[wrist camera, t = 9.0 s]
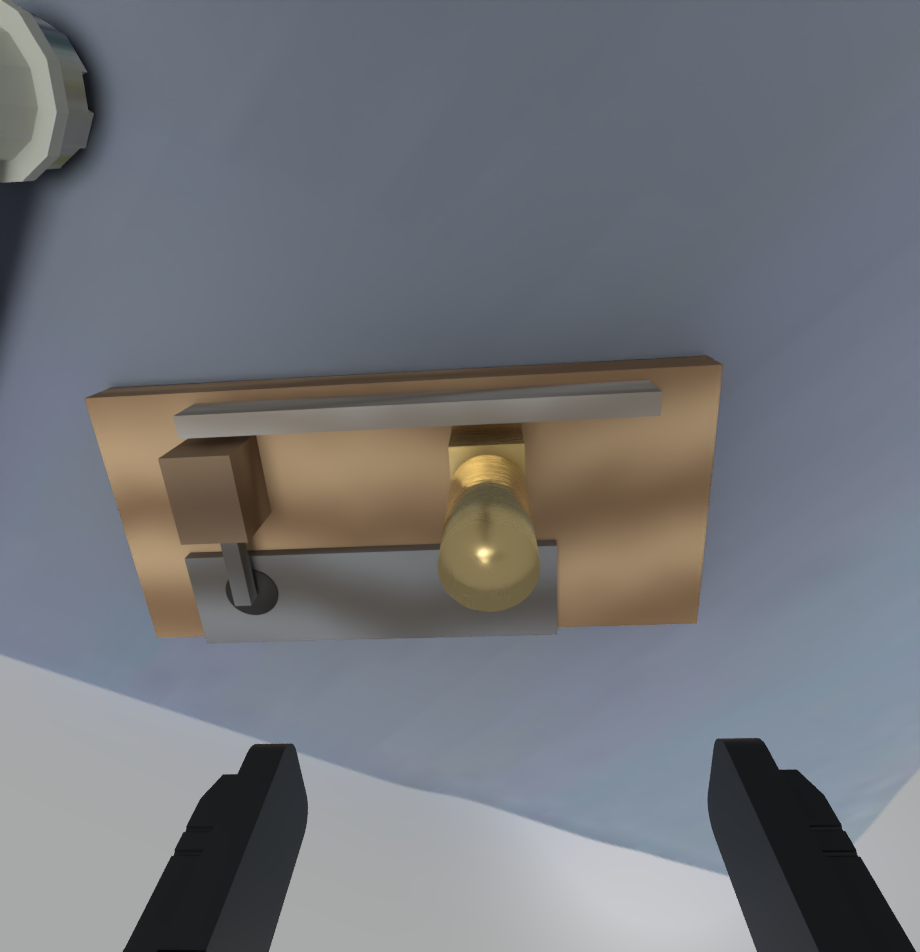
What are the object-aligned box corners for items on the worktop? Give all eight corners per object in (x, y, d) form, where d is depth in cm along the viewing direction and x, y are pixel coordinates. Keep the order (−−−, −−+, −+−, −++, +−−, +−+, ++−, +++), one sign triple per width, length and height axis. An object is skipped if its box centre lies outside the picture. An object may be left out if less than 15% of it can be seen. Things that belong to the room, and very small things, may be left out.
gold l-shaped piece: (450, 425, 26) (432, 512, 18) (522, 421, 26) (539, 508, 18) (461, 581, 29) (450, 718, 21) (526, 578, 29) (542, 717, 21)
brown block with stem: (191, 435, 27) (158, 458, 24) (255, 432, 27) (228, 455, 24) (227, 586, 30) (201, 621, 27) (285, 584, 30) (264, 620, 27)
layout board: (110, 388, 29) (54, 410, 25) (706, 355, 27) (741, 374, 23) (175, 615, 33) (136, 662, 30) (684, 600, 32) (710, 648, 28)
